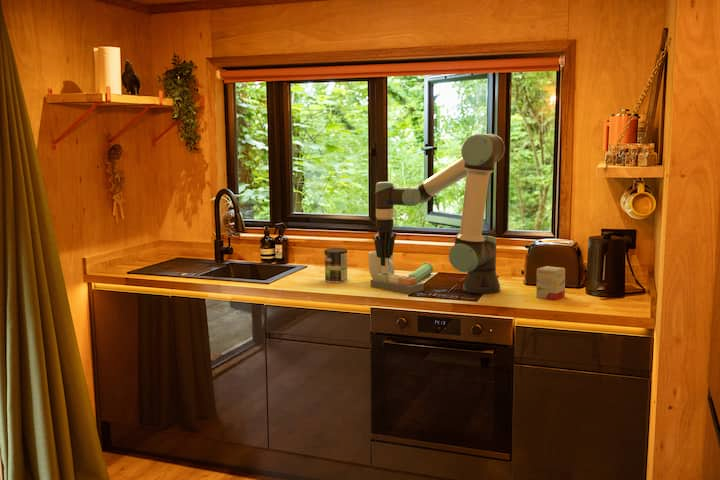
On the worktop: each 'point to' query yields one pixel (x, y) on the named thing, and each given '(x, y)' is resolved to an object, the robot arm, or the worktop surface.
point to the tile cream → (395, 278)
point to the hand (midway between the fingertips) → (384, 272)
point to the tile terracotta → (408, 281)
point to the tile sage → (383, 276)
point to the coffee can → (336, 265)
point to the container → (422, 271)
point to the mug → (378, 264)
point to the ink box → (550, 282)
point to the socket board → (397, 286)
